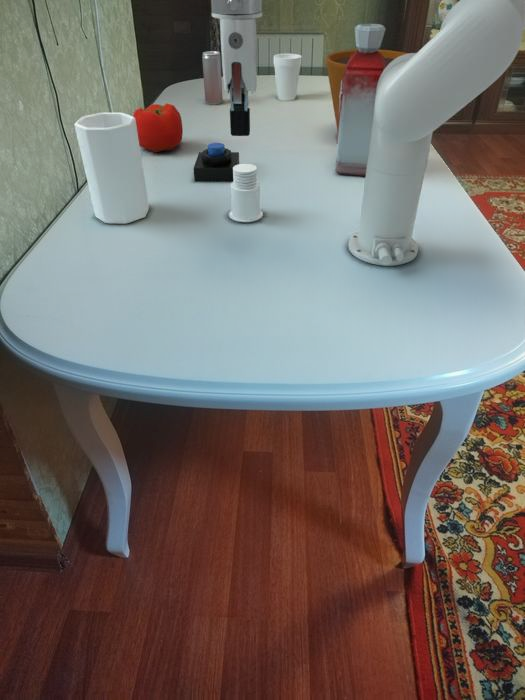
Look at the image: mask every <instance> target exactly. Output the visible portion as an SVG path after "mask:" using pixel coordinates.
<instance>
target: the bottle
mask: <svg viewBox="0 0 525 700" xmlns="http://www.w3.org/2000/svg"><path fill="white" fill-rule="evenodd" d="M385 32H386V27H385V26H384V25H382V24H379V23H360V24H357V25H356V26H355V27H354V38H355V47H356V50H357V49H358V51H356V52H355V53H354V54H353V55H351V57H350V59H349V61H348V63H347V66H346V68H345V71H344V77H343V79H342V81H341V90H340V95H339V99H340V102H339V113H338V126H339V132H338V131H337V137H336V145H337V147H336V158H335V160H336V161H335V163H336V166H335V172H336V173H337V174H339V175H345V176H358V177H359V176H360V177H366V170H367V162H368V156H369V148H370V140H371V133H372V125H373V116H374V107H375V95H376V88H377V84H378V81H379V78H380V76H381V74H382V72H383V71H384V69H385V68H386V61H385V60H384V56H383V55H382V54H381V53H380V52H378V51H377V50H380V48H381V46H382V42H383V40H384V35H385Z"/></svg>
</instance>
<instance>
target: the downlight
mask: <svg viewBox="0 0 525 700" xmlns="http://www.w3.org/2000/svg"><path fill="white" fill-rule="evenodd" d="M260 187H261V184H260V182H259V181H257V166H256V165H255V164H252V163H239V164H238V165H235V166H234V167H233V182H231V183H230V202H231V210H230V211H229V212H228V216H229V218H230V219H231V220H233V221H234V222H235V221H236V222H239V223H252V222H256V221H258V220H260V219H262V218H263V215H264V212H263V211H262V210H261V189H260Z"/></svg>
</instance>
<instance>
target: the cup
mask: <svg viewBox="0 0 525 700" xmlns="http://www.w3.org/2000/svg"><path fill="white" fill-rule="evenodd" d="M74 129H75V134H76V138H77V143H78V147H79V151H80V155H81V160H82V164H83V169H84V173H85V177H86V178H85V179H86V181H87V187H88V190H89V195H90V199H91V204H92V207H93V212H94V216H95V218H97V219H98V220H100V221H102V222H103V223H105V224H110V225H111V224H114V225H116V224H119V225H120V224H121V225H122V224H123V225H128V224H130V223H132V222H133V223H134V222H136V221H138V220H141V219H144V218H145V217H146V216H147V214H148V212H149V210H150V206H149V205H150V204H149V199H148V193H147V186H146V180H145V179H146V178H145V172H144V166H143V160H142V154H141V147H140V146H139V140H138V133H137V127H136V120H135V118H134V117H133V115H130V114H127V113H124V112H105V111H104V112H97V113H93V114H88V115H87V114H86V115H84V116H81V117H80V118H79V119H78V120H77V121H76V122H75V123H74Z"/></svg>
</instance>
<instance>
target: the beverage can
mask: <svg viewBox="0 0 525 700" xmlns="http://www.w3.org/2000/svg"><path fill="white" fill-rule="evenodd" d="M201 59H202V60H201V61H202V75H203V89H204V101H205V103H206V104H207V105H212V106H215V105H220V104H222V103H223V100H224V99H223V97H224V96H223V75H222V55H221V52H219V51H216V50H209V51H208V50H207V51H204V52H202V56H201Z"/></svg>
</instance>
